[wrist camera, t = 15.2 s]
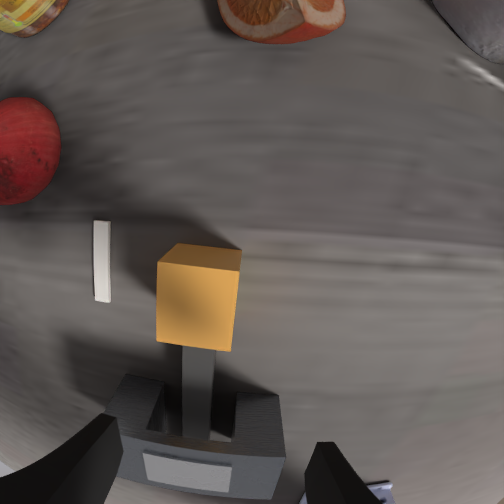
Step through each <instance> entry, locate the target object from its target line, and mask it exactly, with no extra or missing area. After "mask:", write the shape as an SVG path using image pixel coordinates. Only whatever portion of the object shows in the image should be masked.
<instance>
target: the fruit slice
mask: <svg viewBox="0 0 504 504" xmlns="http://www.w3.org/2000/svg"><path fill="white" fill-rule="evenodd" d="M217 1H218V6H219V10H220V13H221V16H222V18H223V21H224V22H225V23H226V25H227V26H228V27H229V28H230V29H231V30H232V31H233V32H234V33H236V34H237V35H239V36H240V37H242V38H244V39H246V40H250V41H253V42H258V43H265V44H290V43H296V42H301V41H307V40H309V39H312V38H316V37H320V36H324V35H326V34H328V33H330V32H332V31H333V30H335V29H337V28H339V27H340V26H341V25H342V24H343V23H344V21H345V17H346V10H345V5H344V0H217Z"/></svg>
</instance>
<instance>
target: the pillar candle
mask: <svg viewBox="0 0 504 504" xmlns="http://www.w3.org/2000/svg"><path fill="white" fill-rule="evenodd" d="M432 2H433V4H434V6H435V7H436V9H437V10H438V12H439V13H440V14H441V16H442V17H443V18H444V19H445V20H446V21H447V22H448V23H449V25H450V26H451V27H452V28H453V29H454V31H455V32H456V33H457V34H458V35H459V36H460V38H461V39H462V40H463V41H464V42H465V43H466V45H467V46H469V47H470V48H471V49H472V50H473V51H475V52H476V53H477V54H478V55H480V56H482V57H483V58H485V59H487V60H489V61H491V62H494V63H499V64H504V0H432Z"/></svg>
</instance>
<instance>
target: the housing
mask: <svg viewBox="0 0 504 504" xmlns="http://www.w3.org/2000/svg"><path fill="white" fill-rule="evenodd" d="M103 414H107V415H110V416H114V417H117V422H118V427H119V432H120V437H121V441H122V446H123V450H124V452H123V455H122V459H121V463H120V466H119V469H118V472H117V475H116V476H117V477H121V478H124V479H128V480H132V481H135V482H139V483H144V484H148V485H152V486H157V487H162V488H167V489H172V490H177V491H183V492H189V493H196V494H203V495H211V496H221V497H231V498H245V499H270V500H271V499H272V496H273V493H274V490H275V488H276V485H277V482H278V479H279V476H280V474H281V471H282V468H283V465H284V462H285V459H286V453H285V445H284V436H283V428H282V419H281V411H280V402H279V395H266V394H253V393H242V392H237V398H236V406H235V414H234V422H233V429H232V437H231V443H229V442H219V441H211V440H203V439H196V438H190V437H184V436H178V435H172V434H167V433H166V430H167V429H166V413H165V393H164V382H162V381H157V380H152V379H147V378H142V377H137V376H132V375H128V374H126V375H125V377H124V378H123V380H122V382H121V383H120V385H119V387H118V389H117V390H116V392H115V394H114V396H113V397H112V399H111V401H110V403H109V404H108V406H107V408H106V410H105V411H104V413H103Z"/></svg>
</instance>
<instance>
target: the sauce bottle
mask: <svg viewBox="0 0 504 504" xmlns="http://www.w3.org/2000/svg"><path fill="white" fill-rule="evenodd" d="M68 2H69V0H0V30H2V31H4V32H6V33H12V34H13V35H15V36H18V37H24V38H25V37H29V36H32V35H35V34H37V33H38V32H40V31H42V30H43V29H44V28H45V27H47V26H48V25H49V24H50V23H51V22H52V21H53V20H54V19H56V17H58V15H59V14H60V13H61V11H63V10H64V8H65V6H66V5H67V4H68Z"/></svg>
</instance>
